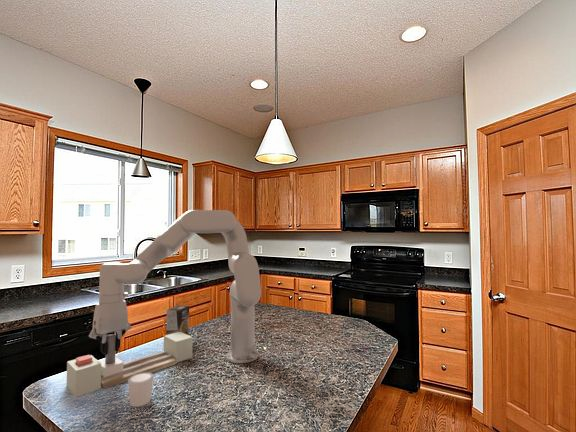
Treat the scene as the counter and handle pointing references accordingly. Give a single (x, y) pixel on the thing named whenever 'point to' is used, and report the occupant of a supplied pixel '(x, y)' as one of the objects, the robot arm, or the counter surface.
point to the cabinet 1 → (83, 377)
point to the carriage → (111, 358)
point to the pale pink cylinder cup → (140, 389)
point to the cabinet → (178, 346)
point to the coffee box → (177, 320)
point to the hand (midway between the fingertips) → (110, 351)
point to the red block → (83, 360)
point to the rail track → (139, 368)
